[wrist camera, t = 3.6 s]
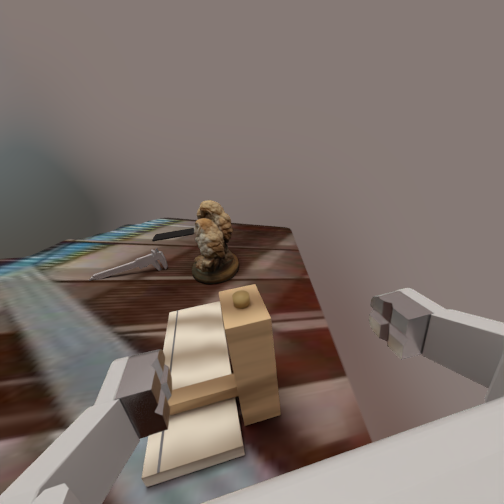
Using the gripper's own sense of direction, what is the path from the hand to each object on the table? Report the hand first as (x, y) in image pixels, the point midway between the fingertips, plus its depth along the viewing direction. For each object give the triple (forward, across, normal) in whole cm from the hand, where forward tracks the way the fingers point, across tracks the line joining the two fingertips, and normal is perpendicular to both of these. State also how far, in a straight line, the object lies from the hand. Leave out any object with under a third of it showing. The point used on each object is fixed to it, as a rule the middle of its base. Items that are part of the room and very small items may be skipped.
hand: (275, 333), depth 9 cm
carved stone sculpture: (+49, +2, +20) cm, 53 cm away
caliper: (+55, +25, +20) cm, 64 cm away
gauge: (+12, +4, +20) cm, 24 cm away
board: (+19, +7, +20) cm, 28 cm away
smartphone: (+84, +15, +20) cm, 88 cm away
